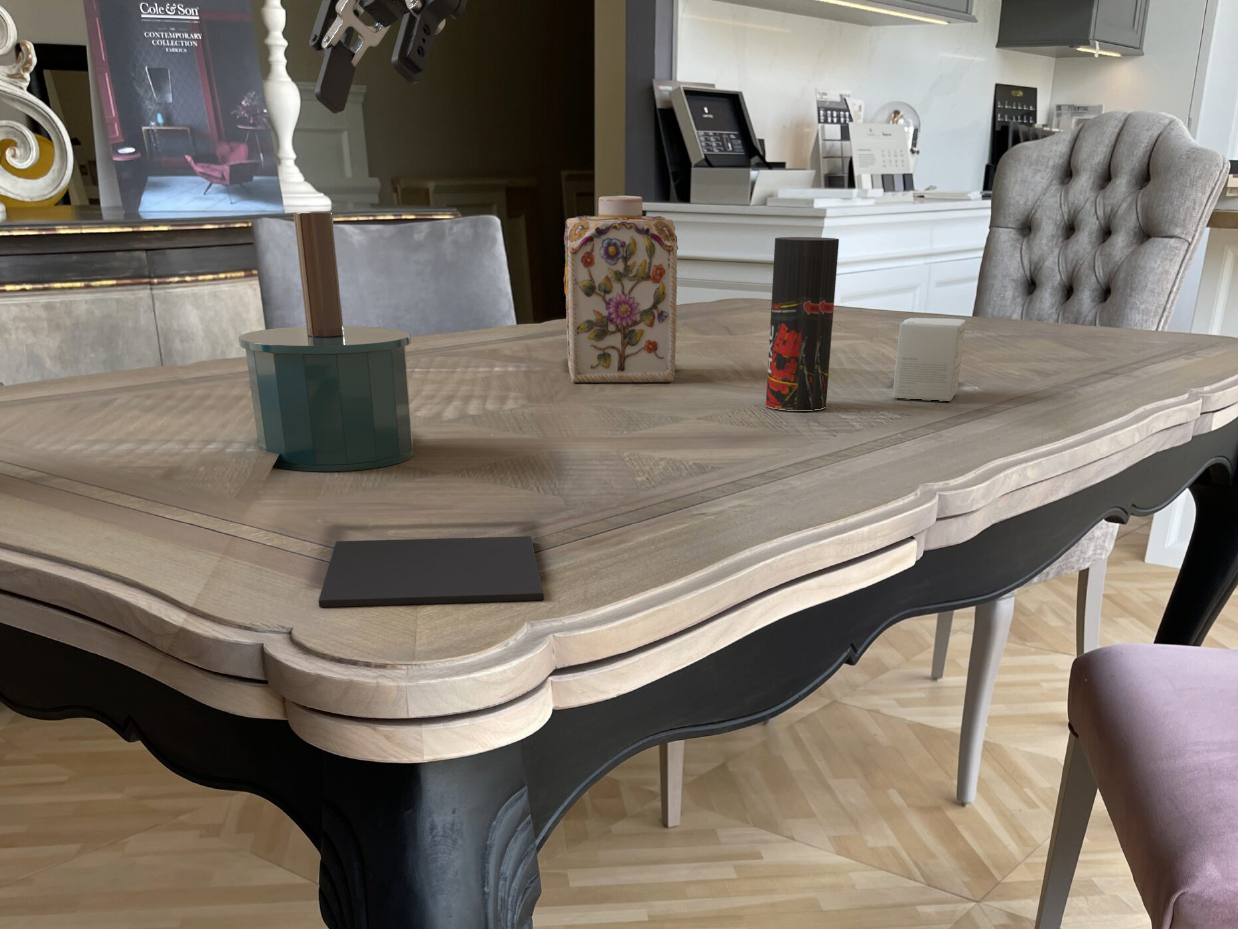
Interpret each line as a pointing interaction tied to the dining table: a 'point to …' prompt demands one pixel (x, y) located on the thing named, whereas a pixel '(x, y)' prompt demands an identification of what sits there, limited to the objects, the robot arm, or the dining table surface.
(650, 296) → the decorative jar
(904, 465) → the dining table surface
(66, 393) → the dining table surface
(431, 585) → the mat
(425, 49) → the robot arm
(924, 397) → the product box
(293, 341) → the lid
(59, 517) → the dining table surface
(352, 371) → the canister
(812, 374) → the deodorant
